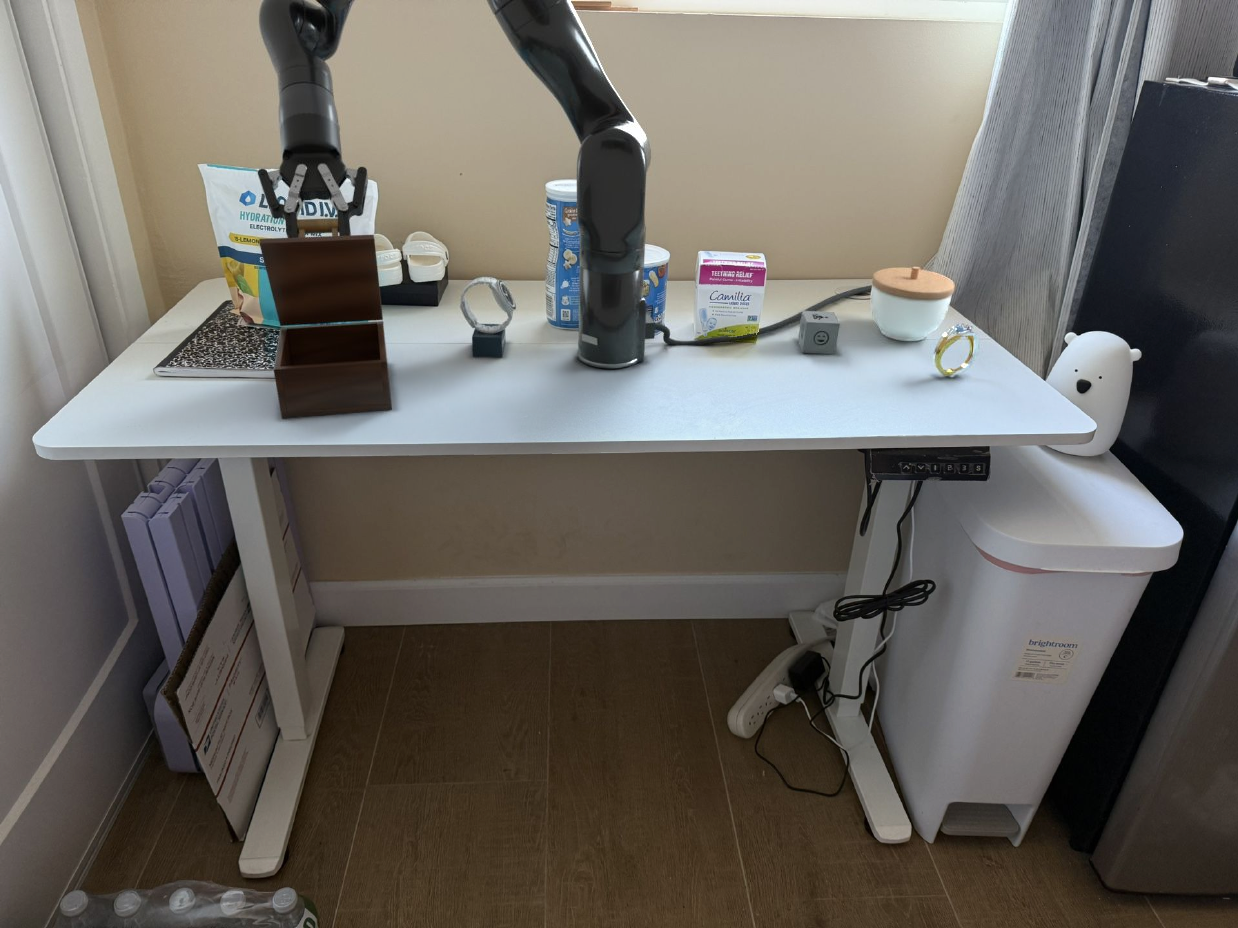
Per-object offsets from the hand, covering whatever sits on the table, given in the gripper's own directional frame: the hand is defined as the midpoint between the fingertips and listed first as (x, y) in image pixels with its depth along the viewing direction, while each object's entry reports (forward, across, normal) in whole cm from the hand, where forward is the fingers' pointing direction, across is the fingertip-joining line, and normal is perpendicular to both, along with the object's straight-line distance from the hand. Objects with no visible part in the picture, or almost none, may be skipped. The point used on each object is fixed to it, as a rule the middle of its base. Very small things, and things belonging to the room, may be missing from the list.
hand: (320, 242), depth 114 cm
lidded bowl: (+13, +89, +15) cm, 91 cm away
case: (+16, 0, +12) cm, 20 cm away
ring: (+25, +87, +3) cm, 90 cm away
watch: (+8, +22, +19) cm, 30 cm away
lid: (+4, 0, +4) cm, 6 cm away
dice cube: (+15, +72, +13) cm, 75 cm away
